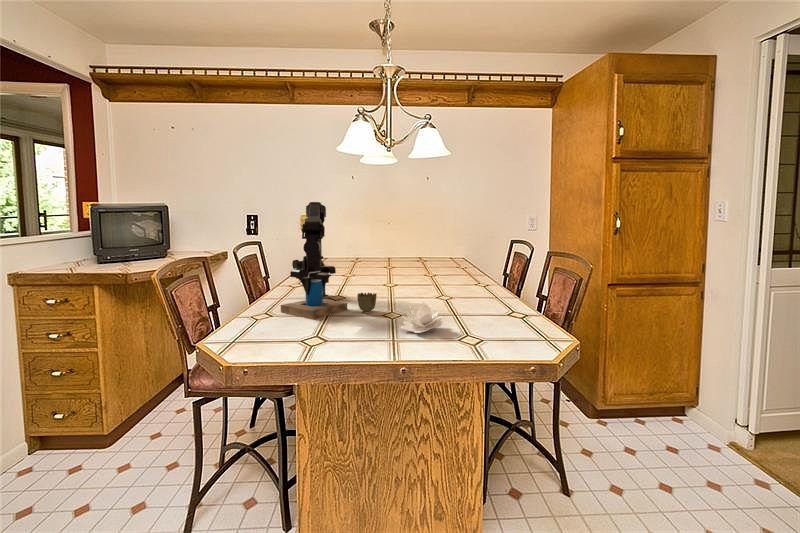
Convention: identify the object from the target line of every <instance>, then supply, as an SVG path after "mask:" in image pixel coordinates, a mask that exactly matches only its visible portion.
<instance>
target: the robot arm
mask: <svg viewBox="0 0 800 533" xmlns="http://www.w3.org/2000/svg"><path fill="white" fill-rule="evenodd" d="M305 217H306V218H305V219H304V222H303V223H302V225H301V226H302V227H301V228H302V229H301V230H302V232H301V234H302V235H301V239H302V240H305V243H304V244H303V252H304V253H305V255H304V256H303V257H302V260H299V259H294V260H292V264H291V266H292V269H291V271H290V272H289V273H290V274H289V275H290V278H295V280H296V279H297V280H298V281H300V282H301V285H302V287H303V289H304V292H305V296H306V295H309V293H310V286H311V279H319V280H321V282H322V287H323V298H324V297H328V296H329V294H326V284H329V280H330V277H331V276H332V275H334V274H337V273H336V272H337V270H336V267H335V266H333V265H326V264H325V263H324V261H323V259H324V255H322V254H323V252H322V251H323V249H322V239H324V237H325V235H326V234H325V226H324V223H325V220H326V219H325V218H327V208H326V206H325V205H323V204H322V202H320V201H310V202H308V204H307V205H306V206H305Z"/></svg>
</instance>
